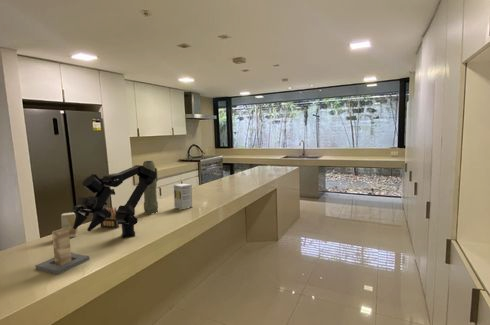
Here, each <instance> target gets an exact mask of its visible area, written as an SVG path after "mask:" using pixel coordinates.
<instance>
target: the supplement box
mask: <svg viewBox="0 0 490 325" xmlns="http://www.w3.org/2000/svg"><path fill="white" fill-rule="evenodd" d="M192 186H193V185H192V184H190V183H178V184H173V197H174V198H173V201H174V208H175V207H176V208H175V209H177V208H179V209H178V210H180V209H184V210H186V209H185V208H188V207H192V208H193V190H192V189H193V188H192ZM188 209H189V208H188Z"/></svg>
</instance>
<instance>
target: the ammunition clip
mask: <svg viewBox="0 0 490 325" xmlns="http://www.w3.org/2000/svg"><path fill="white" fill-rule="evenodd" d="M103 208H105V209H107V210H108V211H110V212H111V217H110V219H107V220H105V221H103V222H102V223H100V224H99V226H100V228H102V229H104V228H105V229H119V227H120V226H119V225H120V224H118V223H117V221H116V219H115V214H116V211H117V207H115V206H114V207H113V206H112V207H110V206H106V207H105V206H103Z"/></svg>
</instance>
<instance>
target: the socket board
mask: <svg viewBox="0 0 490 325" xmlns="http://www.w3.org/2000/svg"><path fill="white" fill-rule="evenodd" d="M87 261H90V256H89V255H85V254H84V255H83V254H79V253H74V252H71V261H70V262H68V263H66V264H64V265H61V266H58V265H55V258H54V257H53V258H50V259H48V260H46V261H42V262H41V263H38V264H35V269H36V270H38V271H42V272H45V273H50V274H54V275H57V276H58V275H61V274H63V273H64V272H67V271H69V270H71V269H73V268H75V267H77V266H79V265H81V264H84V263H86V262H87Z"/></svg>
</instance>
